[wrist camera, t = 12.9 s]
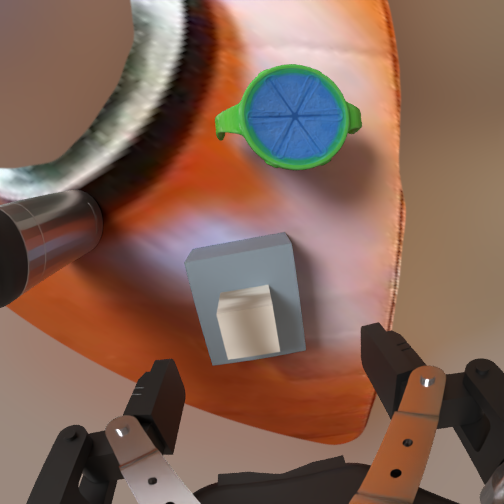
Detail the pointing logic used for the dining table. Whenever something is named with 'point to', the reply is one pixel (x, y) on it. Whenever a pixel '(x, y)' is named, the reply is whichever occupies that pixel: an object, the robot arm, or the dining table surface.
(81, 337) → the dining table surface
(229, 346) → the cream cube
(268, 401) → the dining table surface
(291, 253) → the slate stand
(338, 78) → the dining table surface
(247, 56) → the dining table surface
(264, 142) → the snack cup
